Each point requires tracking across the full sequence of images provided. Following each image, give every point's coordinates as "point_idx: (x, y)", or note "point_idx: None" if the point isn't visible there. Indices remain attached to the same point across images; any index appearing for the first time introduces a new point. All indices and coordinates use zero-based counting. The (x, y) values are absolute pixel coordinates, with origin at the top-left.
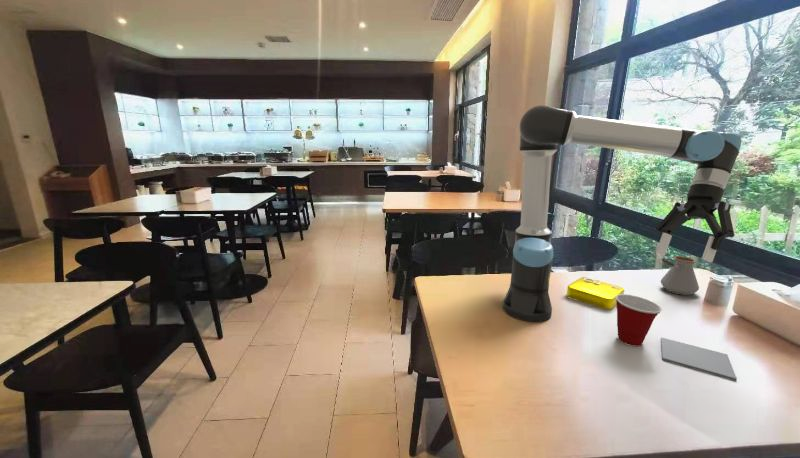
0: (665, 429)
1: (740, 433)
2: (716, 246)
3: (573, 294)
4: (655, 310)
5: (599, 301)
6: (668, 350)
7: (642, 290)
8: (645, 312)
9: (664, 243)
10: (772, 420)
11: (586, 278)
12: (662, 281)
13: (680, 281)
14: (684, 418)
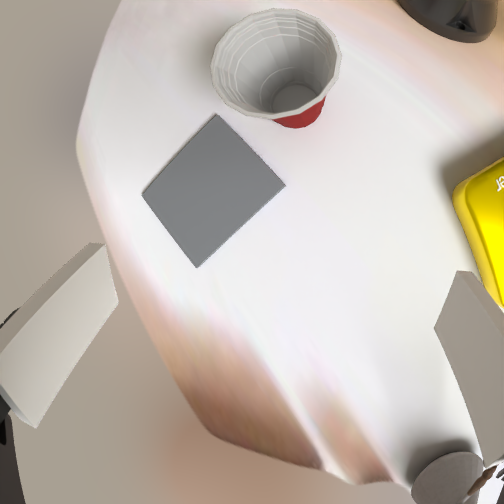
0: (124, 28)
1: (94, 99)
2: (11, 316)
3: None
4: (253, 110)
5: (475, 174)
6: (234, 149)
7: None
8: (220, 43)
9: (484, 360)
10: (91, 157)
11: None
12: (476, 458)
13: (443, 479)
14: (124, 54)
